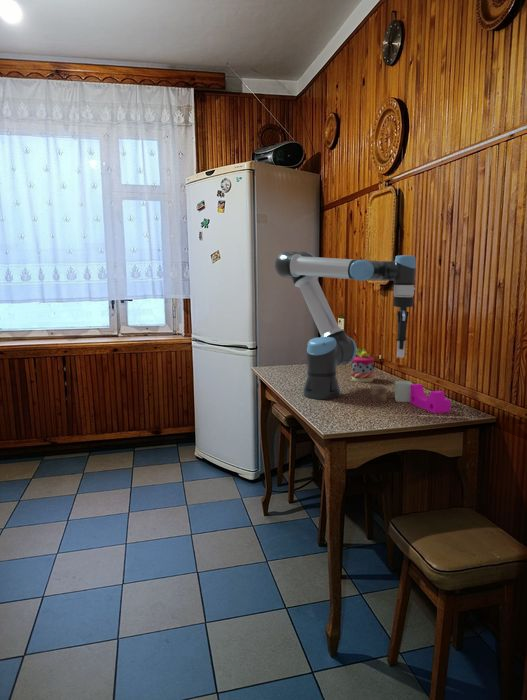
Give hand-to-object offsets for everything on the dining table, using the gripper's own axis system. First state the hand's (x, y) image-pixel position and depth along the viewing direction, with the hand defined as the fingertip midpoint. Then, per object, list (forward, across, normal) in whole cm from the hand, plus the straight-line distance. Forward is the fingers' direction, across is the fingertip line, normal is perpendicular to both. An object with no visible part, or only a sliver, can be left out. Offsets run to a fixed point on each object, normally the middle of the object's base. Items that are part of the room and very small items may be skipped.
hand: (400, 357), depth 183 cm
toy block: (+17, -12, -10) cm, 23 cm away
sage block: (+17, -2, -2) cm, 17 cm away
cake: (+18, +31, +14) cm, 38 cm away
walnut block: (+17, -4, +8) cm, 19 cm away
